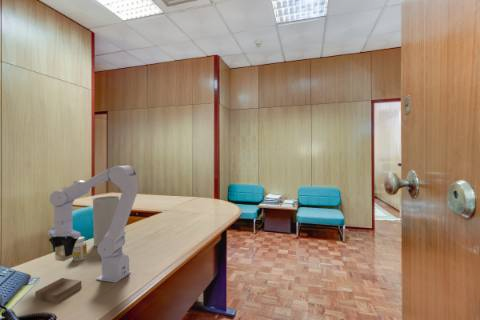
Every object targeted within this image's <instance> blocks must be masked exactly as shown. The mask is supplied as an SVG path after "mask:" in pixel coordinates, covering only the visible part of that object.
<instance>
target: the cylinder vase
mask: <svg viewBox="0 0 480 320" xmlns="http://www.w3.org/2000/svg"><path fill="white" fill-rule="evenodd" d="M119 200H120V196H118V195H109V196H107V195H105V196H98V197H95V198H93V199H92V216H93V218H92V219H93V221H92V222H93V246H95V247H98V245H99V243H100V242H101V241H102V240H103V238H104V236H105V235H106V233H107V232H108V231H109V228H110V226H111V223H112V220H113V217H114V214H115V211H116V209H117V206H118V203H119Z"/></svg>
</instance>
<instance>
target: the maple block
mask: <svg viewBox="0 0 480 320" xmlns="http://www.w3.org/2000/svg"><path fill="white" fill-rule="evenodd" d="M54 253H55V254H54V255H55V256H54V257H55V259H54V260H55V261H59V262H64V261H67V260H69V259H73V252H72V255H70V256H66V255H65V249H64V245H60V246H58V247H55V249H54Z"/></svg>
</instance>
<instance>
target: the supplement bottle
mask: <svg viewBox="0 0 480 320" xmlns="http://www.w3.org/2000/svg"><path fill="white" fill-rule="evenodd" d="M85 240H86V238H85V236H81V237H79V238H78V239H77V241H76V243H75V245H74V248H73V257H72V260H73V261H75V262H77V261H82V260H84V259H87V256H88V254H87V253H88V252H87V251H88V250H87V247H88V246H87V241H85Z"/></svg>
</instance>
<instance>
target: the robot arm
mask: <svg viewBox="0 0 480 320" xmlns="http://www.w3.org/2000/svg"><path fill="white" fill-rule="evenodd" d="M137 176H138V173H137V171H136V170H135V168H134V166H132V165H129V164H126V165H114V166H112V167H111V168H110V167H108V168H107V169H105V170H102V171H101V172H100V173H98V174H96V175H94V176H92V177H90V178H89V179H87V180H74V181H73V183H72V184H70V185H68V186H64V187H62V190H54V191H53V192H52V193H50V195H49V202H50V204H51V205H52V206H53V224H54V225H53V226H54V229H50V230H47V233H46V234H47V237H51V238H48V242H50V243H51V245H52V246H53V249H54V250H55V247H58V246H60V245H64V249H65V255H66V256H70V255H72V252H73V248H74V245H75V243H76V241H77V239H78V238H79V237H82V236H81V232H80V231H77V230H74V229H73V204H74V202H75V201H76V200H78V199H80V198H82V197H83V196H85V195H87V194H89V192H90V190H91V188H93V187H96V186H99V185H100V184H102V183H104V182H107V181H108V182H110V181H111V183H113V184H114V185H116V186H117V187H118V188H119V190H120V191H121V193H120V196H119V203H118V206H117V209H116V211H115V214H114V217H113V220H112V223H111V226H110V228H109V231H108V232H107V233H106V235H105V236H104V238H103V240H102V241H101V242H100V243H99V245H98V247H97V248H96V250H97V253H98V255H99V256H100V258H101V275H99V276H97V277H96V278H95V280H96V281H102V282H110V283H118V282H120V281H121V280H122V279H124V278H125V277H127V276H128V275H130V274H131V273H132V272H131V271H130V257H129V256H128V255H127V254H125V253H123V246H125V243H126V231H125V229H126V226H127V222H128V220H129V217H130V214H131V211H132V209H133V206H134V203H135V200H136V198H137V194H138V193H139V184H138V180H137V179H138V178H137Z"/></svg>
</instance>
